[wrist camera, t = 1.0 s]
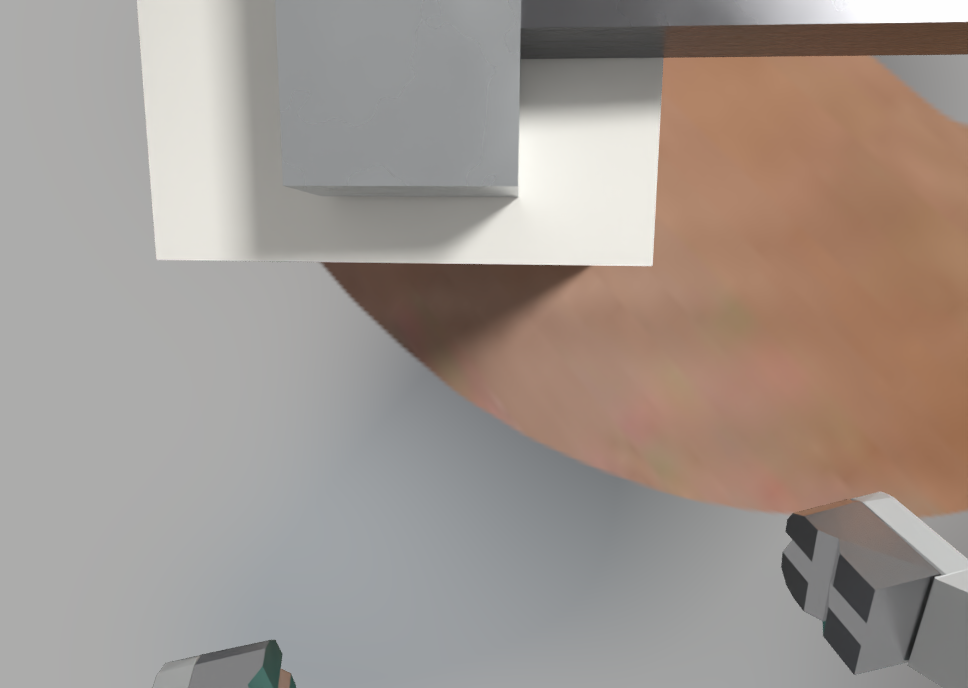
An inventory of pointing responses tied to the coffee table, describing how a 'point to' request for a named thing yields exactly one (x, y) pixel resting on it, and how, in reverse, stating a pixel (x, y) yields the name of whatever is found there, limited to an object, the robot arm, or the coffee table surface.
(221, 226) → the plinth
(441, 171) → the hammer
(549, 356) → the coffee table surface
